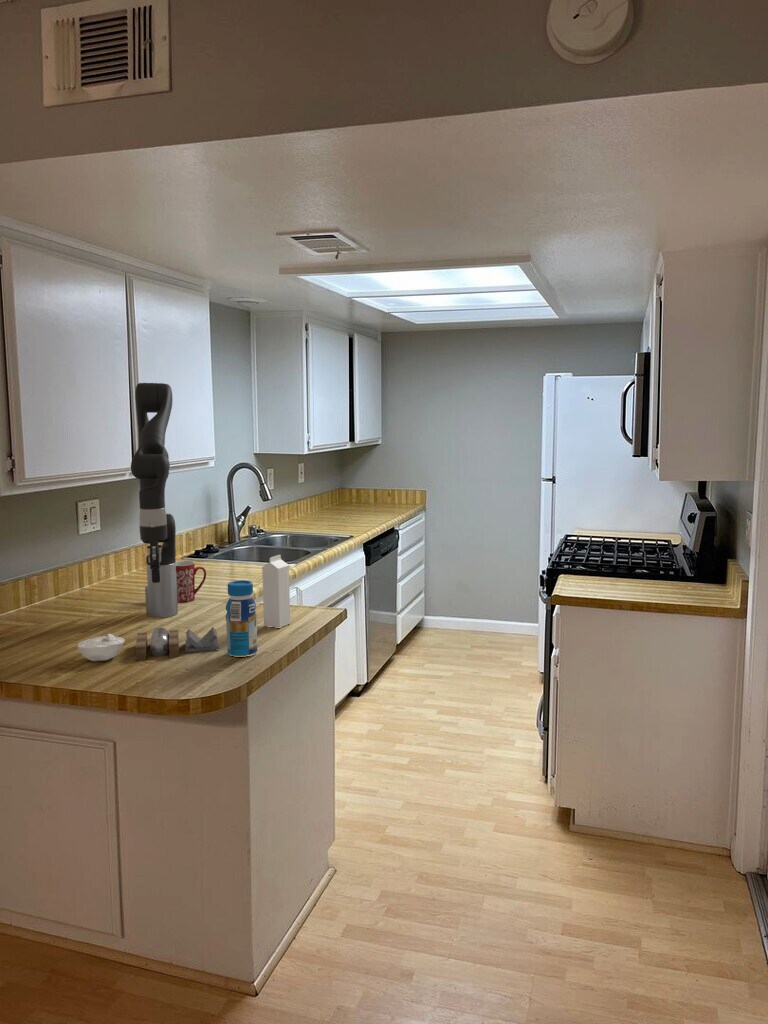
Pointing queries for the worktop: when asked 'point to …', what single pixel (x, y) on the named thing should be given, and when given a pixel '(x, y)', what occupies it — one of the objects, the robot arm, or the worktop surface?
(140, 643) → the slotted block
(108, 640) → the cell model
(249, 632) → the beverage bottle
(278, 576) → the milk
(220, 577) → the worktop surface
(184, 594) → the mug
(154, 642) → the grey metal cylinder
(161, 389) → the robot arm
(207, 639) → the v block
